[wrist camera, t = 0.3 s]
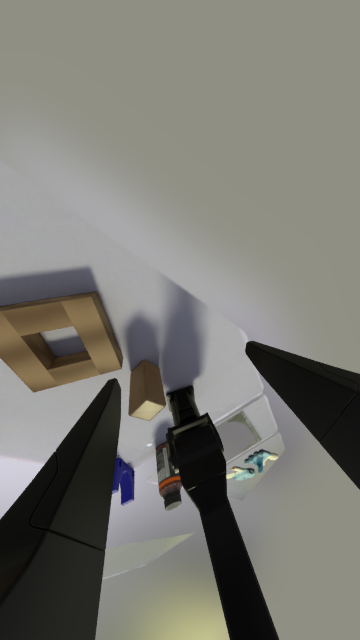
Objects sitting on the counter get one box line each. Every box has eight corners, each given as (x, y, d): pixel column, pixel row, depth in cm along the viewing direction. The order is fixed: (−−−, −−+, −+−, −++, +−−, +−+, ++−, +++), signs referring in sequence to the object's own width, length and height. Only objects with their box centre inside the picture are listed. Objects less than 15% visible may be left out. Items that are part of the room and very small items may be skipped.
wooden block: (143, 358, 25) (146, 398, 18) (159, 366, 27) (167, 405, 20) (129, 372, 26) (127, 416, 19) (146, 379, 27) (149, 422, 21)
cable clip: (101, 464, 37) (95, 499, 31) (118, 456, 37) (115, 489, 32) (120, 477, 42) (117, 508, 37) (134, 470, 43) (133, 500, 38)
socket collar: (123, 358, 24) (121, 368, 22) (44, 378, 21) (33, 392, 19) (96, 291, 18) (91, 296, 16) (-15, 308, 16) (-39, 317, 14)
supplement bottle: (178, 443, 43) (190, 499, 33) (163, 453, 43) (171, 512, 33) (167, 439, 40) (176, 499, 30) (151, 450, 40) (155, 514, 30)
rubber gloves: (243, 477, 88) (250, 492, 82) (217, 477, 72) (223, 496, 66) (276, 453, 84) (286, 467, 79) (257, 447, 68) (267, 464, 63)
